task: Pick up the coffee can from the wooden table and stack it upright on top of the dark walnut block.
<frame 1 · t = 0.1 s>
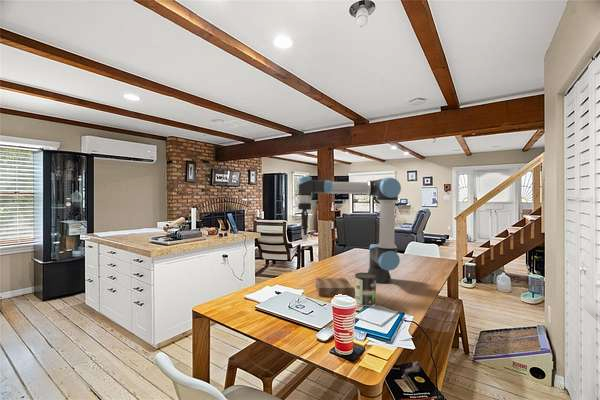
hand: (304, 239, 165), 28 cm above the table, tool pointing down, fingers open, 13 cm apart
coffee can: (365, 303, 140), on the table
walnut block: (332, 290, 158), on the table
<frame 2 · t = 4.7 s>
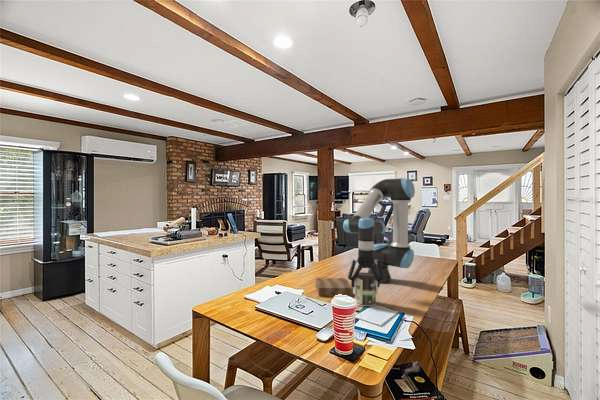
hand: (365, 293, 140), 5 cm above the table, tool pointing down, fingers closed on coffee can, 10 cm apart
coffee can: (365, 303, 140), on the table, touching gripper
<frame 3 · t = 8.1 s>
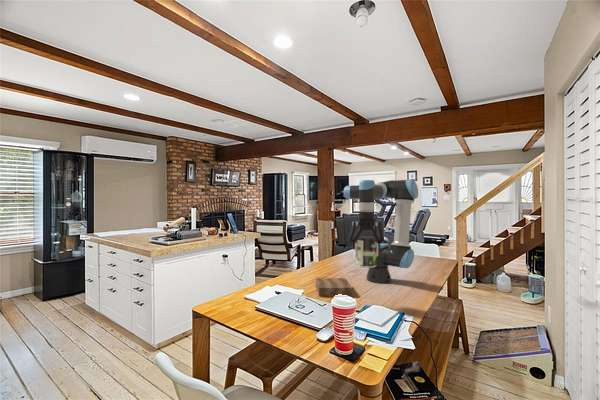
hand: (365, 255, 140), 24 cm above the table, tool pointing down, fingers closed on coffee can, 10 cm apart
coffee can: (365, 265, 140), point 19 cm above the table, touching gripper
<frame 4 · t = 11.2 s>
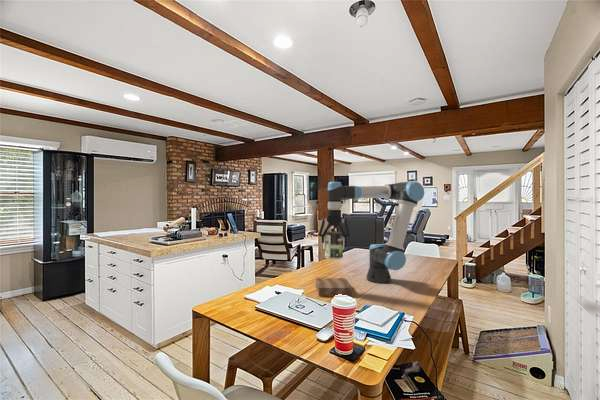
hand: (333, 248, 158), 24 cm above the table, tool pointing down, fingers closed on coffee can, 10 cm apart
coffee can: (333, 257, 158), point 19 cm above the table, touching gripper
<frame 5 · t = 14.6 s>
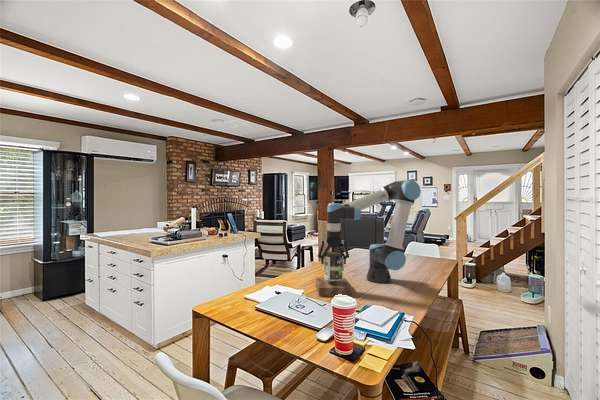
hand: (333, 270, 158), 12 cm above the table, tool pointing down, fingers closed on coffee can, 10 cm apart
coffee can: (333, 278, 158), point 7 cm above the table, touching gripper
when the fingers open (9 cm above the table, at t = 17.7 s): coffee can stays where it is, resting on walnut block.
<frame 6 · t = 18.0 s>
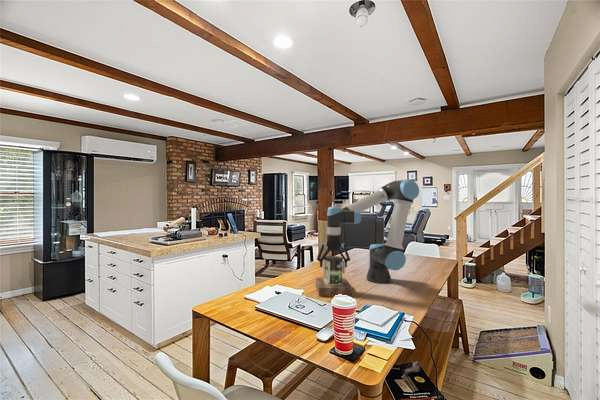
hand: (333, 273, 158), 10 cm above the table, tool pointing down, fingers open, 11 cm apart
coffee can: (333, 283, 158), point 4 cm above the table, touching walnut block
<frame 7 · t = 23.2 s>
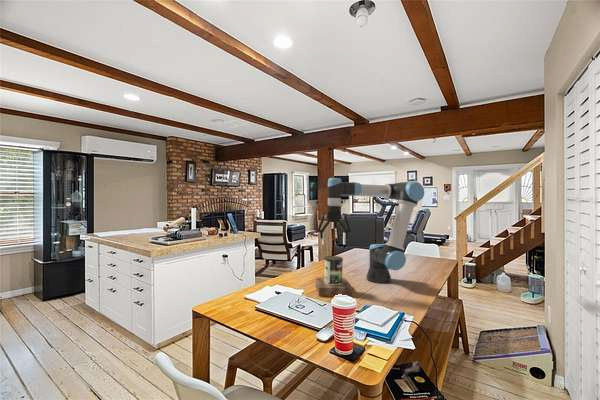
hand: (333, 244, 158), 26 cm above the table, tool pointing down, fingers open, 11 cm apart
nothing on the table moved.
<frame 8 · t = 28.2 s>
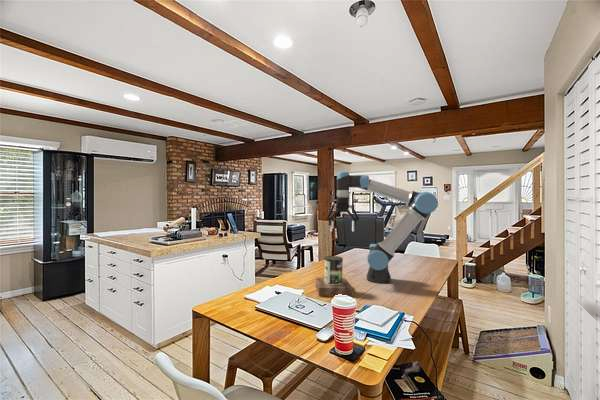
hand: (342, 231, 175), 32 cm above the table, tool pointing down, fingers open, 13 cm apart
nothing on the table moved.
at the end: coffee can inside the target area on the walnut block (0.1 cm from its centre), point 4.3 cm above the walnut block's base; coffee can tilted 0°; the gripper is holding nothing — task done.
